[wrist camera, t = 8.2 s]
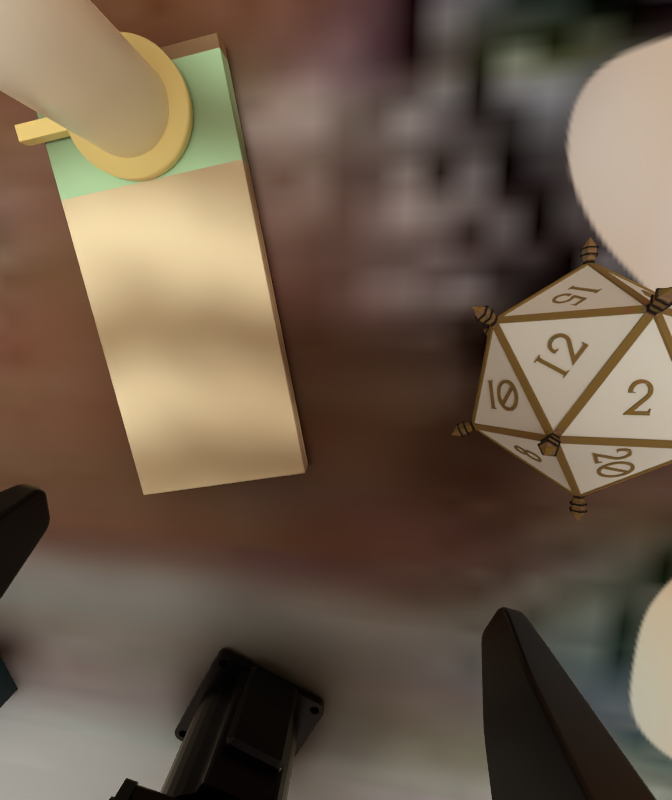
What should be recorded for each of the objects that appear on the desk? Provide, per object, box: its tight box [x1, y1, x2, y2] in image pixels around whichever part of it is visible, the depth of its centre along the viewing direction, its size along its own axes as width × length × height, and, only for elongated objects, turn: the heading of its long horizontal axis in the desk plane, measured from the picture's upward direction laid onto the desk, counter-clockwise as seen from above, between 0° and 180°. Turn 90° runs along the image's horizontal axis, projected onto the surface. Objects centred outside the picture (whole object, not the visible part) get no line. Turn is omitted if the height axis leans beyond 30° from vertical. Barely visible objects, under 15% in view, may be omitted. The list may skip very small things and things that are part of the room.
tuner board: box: [37, 33, 308, 495], centre depth 19 cm, size 18×8×1 cm, turn 10°
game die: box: [451, 237, 672, 521], centre depth 15 cm, size 9×8×10 cm
